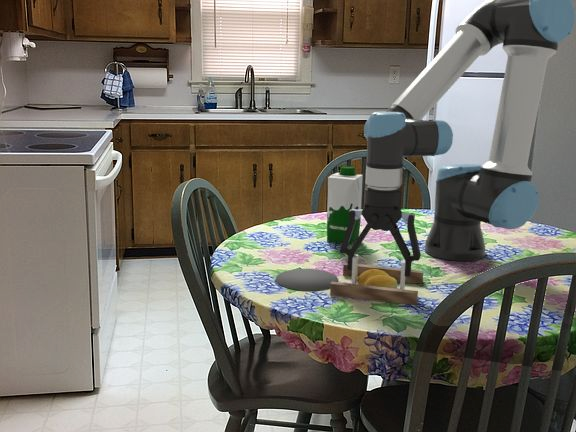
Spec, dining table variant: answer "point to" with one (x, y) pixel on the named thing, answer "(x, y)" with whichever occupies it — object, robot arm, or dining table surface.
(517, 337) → the dining table surface
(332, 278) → the mat
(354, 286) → the chute
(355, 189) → the milk carton
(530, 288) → the dining table surface
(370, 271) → the bread roll
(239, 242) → the dining table surface
